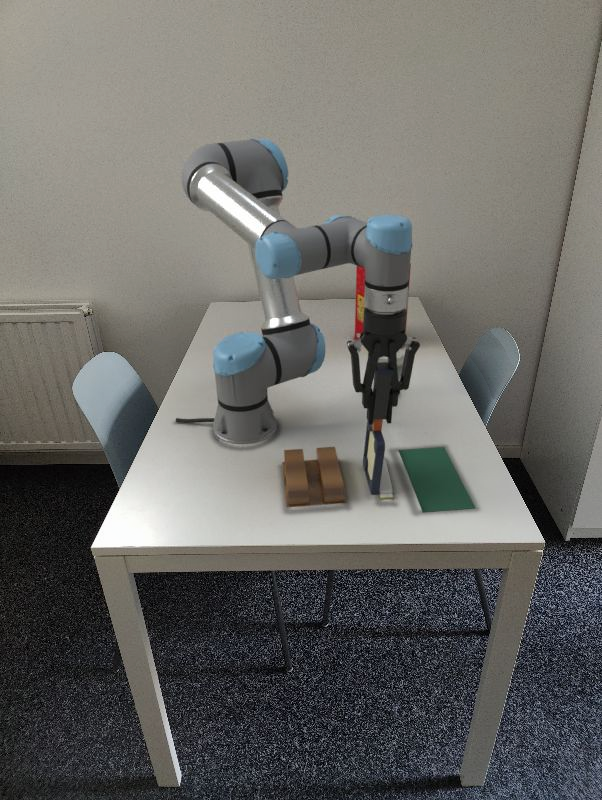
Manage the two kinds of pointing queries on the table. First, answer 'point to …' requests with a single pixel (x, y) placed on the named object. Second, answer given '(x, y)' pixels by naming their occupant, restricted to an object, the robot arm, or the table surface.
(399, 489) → the table surface
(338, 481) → the stand
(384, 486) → the harmonica
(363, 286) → the food packaging
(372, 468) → the racket
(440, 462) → the mat
